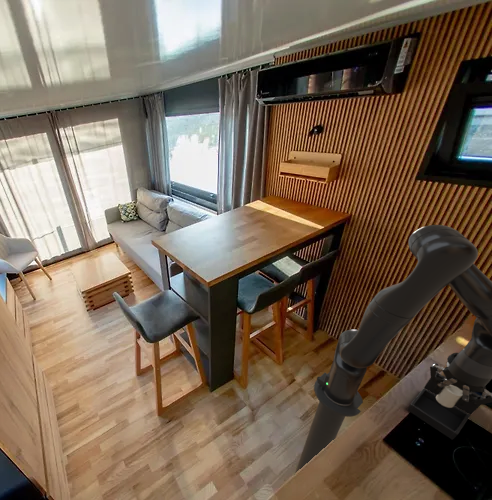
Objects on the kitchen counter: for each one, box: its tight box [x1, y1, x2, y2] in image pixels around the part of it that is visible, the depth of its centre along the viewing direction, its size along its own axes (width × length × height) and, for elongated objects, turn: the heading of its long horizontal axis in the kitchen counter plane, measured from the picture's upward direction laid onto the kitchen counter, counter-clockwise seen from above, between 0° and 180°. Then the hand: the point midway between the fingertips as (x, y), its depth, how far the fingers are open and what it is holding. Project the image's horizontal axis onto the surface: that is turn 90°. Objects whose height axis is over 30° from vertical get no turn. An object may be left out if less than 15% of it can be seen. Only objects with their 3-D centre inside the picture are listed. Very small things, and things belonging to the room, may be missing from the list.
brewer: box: [406, 387, 471, 441], centre depth 88 cm, size 10×11×4 cm
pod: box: [436, 385, 463, 408], centre depth 82 cm, size 4×4×7 cm
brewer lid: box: [423, 373, 481, 416], centre depth 86 cm, size 11×11×5 cm
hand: (447, 397), depth 83 cm, fingers closed on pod, 4 cm apart
